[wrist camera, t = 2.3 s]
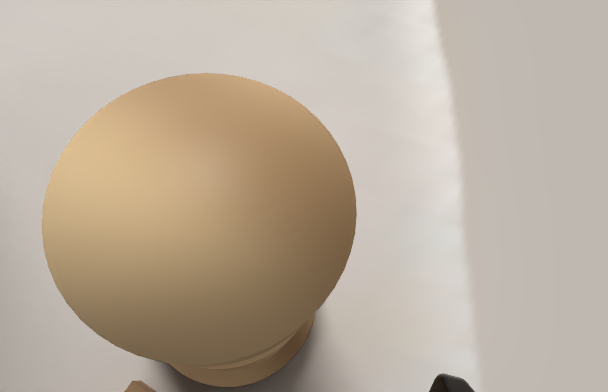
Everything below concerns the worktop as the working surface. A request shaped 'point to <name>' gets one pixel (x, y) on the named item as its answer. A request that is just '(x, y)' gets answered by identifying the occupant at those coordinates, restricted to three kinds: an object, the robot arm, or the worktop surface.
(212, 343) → the wooden chess pawn
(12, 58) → the worktop surface
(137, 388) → the walnut board
